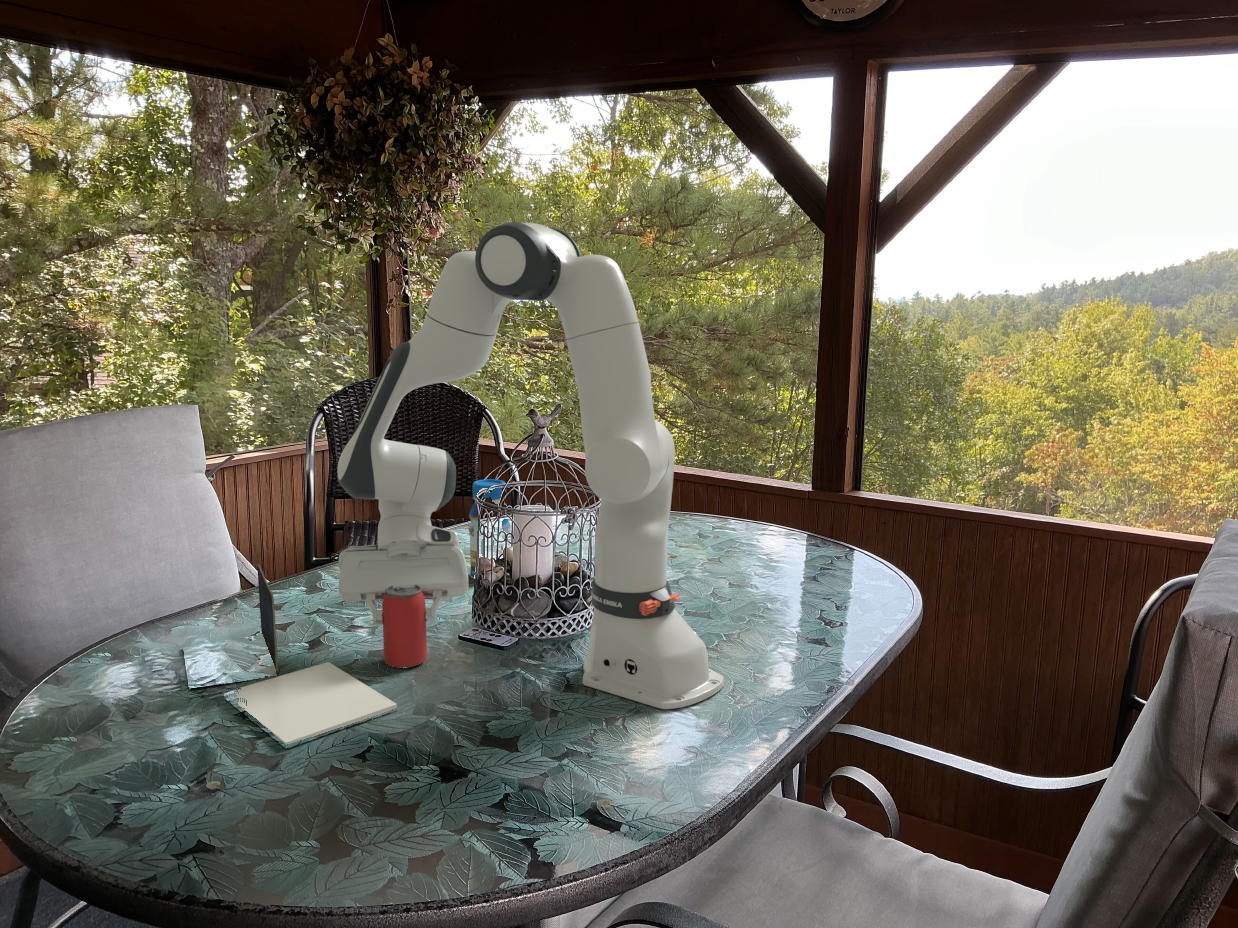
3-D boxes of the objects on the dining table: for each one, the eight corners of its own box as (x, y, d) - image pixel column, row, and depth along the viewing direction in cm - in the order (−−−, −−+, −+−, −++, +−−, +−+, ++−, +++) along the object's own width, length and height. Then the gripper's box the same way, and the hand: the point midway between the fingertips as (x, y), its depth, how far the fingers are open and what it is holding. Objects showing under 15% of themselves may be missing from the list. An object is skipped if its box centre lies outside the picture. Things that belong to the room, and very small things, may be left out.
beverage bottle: (503, 584, 180) (502, 487, 176) (463, 581, 182) (461, 485, 178) (516, 572, 188) (515, 479, 184) (478, 569, 190) (476, 477, 186)
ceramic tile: (397, 710, 125) (396, 703, 125) (286, 749, 114) (285, 742, 114) (328, 667, 139) (328, 661, 139) (223, 699, 128) (223, 692, 128)
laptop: (182, 650, 146) (176, 573, 143) (264, 637, 152) (259, 563, 149) (188, 693, 130) (181, 608, 128) (279, 677, 136) (274, 595, 134)
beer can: (409, 650, 146) (407, 579, 144) (435, 660, 142) (433, 588, 140) (375, 662, 141) (372, 589, 139) (401, 673, 137) (399, 599, 135)
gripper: (337, 537, 143) (332, 616, 135) (467, 532, 147) (469, 609, 139) (341, 556, 148) (337, 633, 141) (466, 551, 152) (469, 626, 144)
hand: (404, 621), depth 140 cm, fingers closed on beer can, 7 cm apart
